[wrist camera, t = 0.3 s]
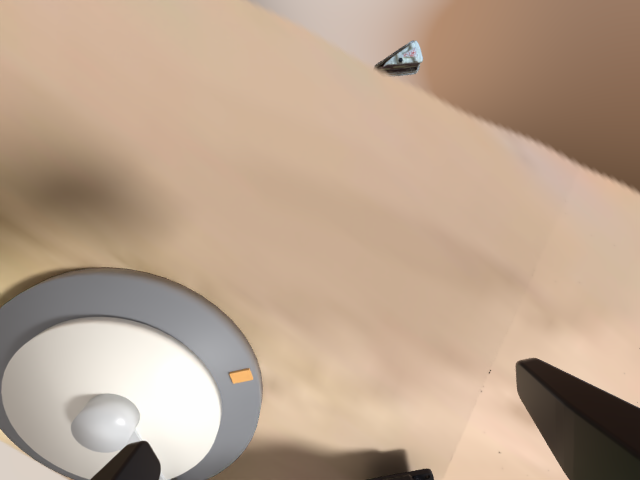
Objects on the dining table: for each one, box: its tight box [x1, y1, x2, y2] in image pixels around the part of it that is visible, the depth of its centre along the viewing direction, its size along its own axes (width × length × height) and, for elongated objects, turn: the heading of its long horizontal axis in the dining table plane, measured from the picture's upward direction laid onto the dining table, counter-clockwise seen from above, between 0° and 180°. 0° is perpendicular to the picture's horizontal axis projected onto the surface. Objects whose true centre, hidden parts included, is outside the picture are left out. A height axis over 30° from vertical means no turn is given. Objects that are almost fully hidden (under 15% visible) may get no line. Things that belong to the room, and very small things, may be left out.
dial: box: [1, 317, 222, 480], centre depth 23 cm, size 20×16×6 cm
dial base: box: [0, 268, 263, 480], centre depth 26 cm, size 22×22×2 cm
